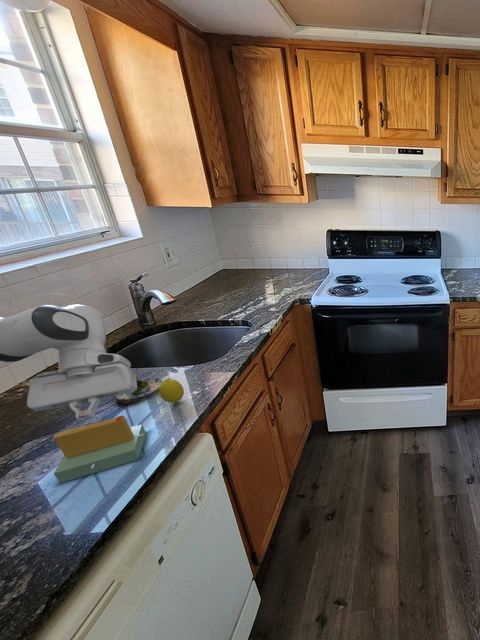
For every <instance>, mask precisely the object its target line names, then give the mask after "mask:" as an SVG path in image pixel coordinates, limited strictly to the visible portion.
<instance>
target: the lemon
mask: <svg viewBox="0 0 480 640" xmlns="http://www.w3.org/2000/svg"><path fill="white" fill-rule="evenodd" d="M158 393H159V396H160V398H161V399H162V400H163V401H164V402H166V403H169V404H170V403H173V404H178V402H179V401H181V399H183V397H184V394H185V390H184V386H183V385H182V384H181V382H179V381H178V380H177V379H171V378H166V379H165V380H163V381H162V383H161V385H160V387H159V388H158Z"/></svg>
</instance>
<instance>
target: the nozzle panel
mask: <svg viewBox="0 0 480 640" xmlns="http://www.w3.org/2000/svg"><path fill="white" fill-rule="evenodd" d="M129 427H130V429H131V431H132V433H133V435H134V436H133V439H132V440H130V441H126V442H123V443H119V444H116V445H112V446H109V447H105V448H102V449H98V450H95V451H91V452H88V453H84V454H81V455H77V456H74V457H70V458H66V457H65V455H64V454H63V456H60V457H56V458H54V460H55V461H57V460H60V461H59V463H58V465H57V467H56V468H55V470H54V471H53V475H54V476H55V477H56V479H57V480H58V482H59V484H62V483H66V482H69V481H72V480H75V479H79V478H83V477H86V476H89V475H92V474H96V473H99V472H102V471H105V470H109V469H113V468H115V467H118V466H123V465H126V464H129V463H131V462H134V461H138V460H140V458H141V454H142V450H143V446H144V443H145V440H146V436H147V432H146V430H145V427H144V425H143V424H141V423H140V424H138V425H137V424H136V425H133V426H129Z"/></svg>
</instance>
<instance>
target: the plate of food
mask: <svg viewBox="0 0 480 640" xmlns="http://www.w3.org/2000/svg"><path fill="white" fill-rule="evenodd" d="M135 377H136V382H137V388H136V390H135V391H134V392H131V393H126V394H121V395H117V396H114V398H115V402H116V403H118V404H120V405H130V404H135V403H137V399H141V398H144V397H147V396H150V395H151V394H153V393H154V392H156V391H158V390H159V387H160V385H161V383H162V382H163V381H162V379H160V378H145V379H139V375H136V374H135Z"/></svg>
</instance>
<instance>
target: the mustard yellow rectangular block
mask: <svg viewBox="0 0 480 640" xmlns="http://www.w3.org/2000/svg"><path fill="white" fill-rule="evenodd" d="M130 427H131V426H130V425H129V423H128V421H127V419H126V417H125V415H118V416H116V417H113V418H109V419H106V420H101V421H98V422H94V423H90V424H85V425H83V426H79V427H74V428H71V429H67V430H63V431H59V432H57V433H56V434H55V435H54V436H53V440H54V441H55V442H56V445H57V446H58V447H59V449H60V450H61V452H62V454H63V456H64V455H65V457H66V458H70V457H74V456H77V455H81V454H84V453H88V452H91V451H95V450H98V449H102V448H105V447H109V446H112V445H116V444H119V443H123V442H126V441H130V440H132V439H133V436H134V435H133V433H132V431H131V429H130Z"/></svg>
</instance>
